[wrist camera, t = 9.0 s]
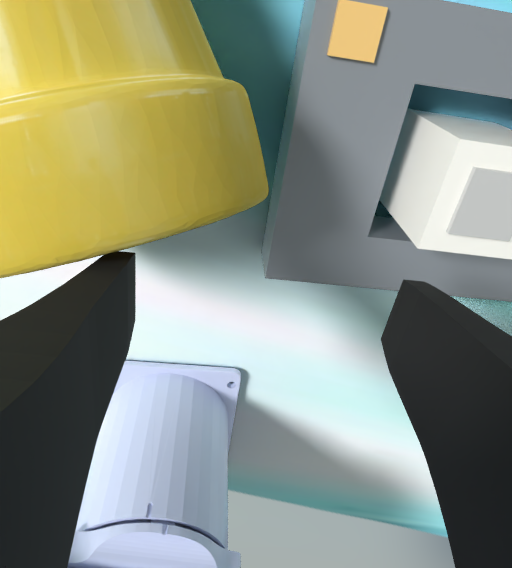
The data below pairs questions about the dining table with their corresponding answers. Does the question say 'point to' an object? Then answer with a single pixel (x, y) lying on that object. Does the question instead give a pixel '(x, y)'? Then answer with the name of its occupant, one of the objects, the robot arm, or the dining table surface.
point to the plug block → (452, 184)
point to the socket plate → (374, 140)
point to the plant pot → (115, 130)
